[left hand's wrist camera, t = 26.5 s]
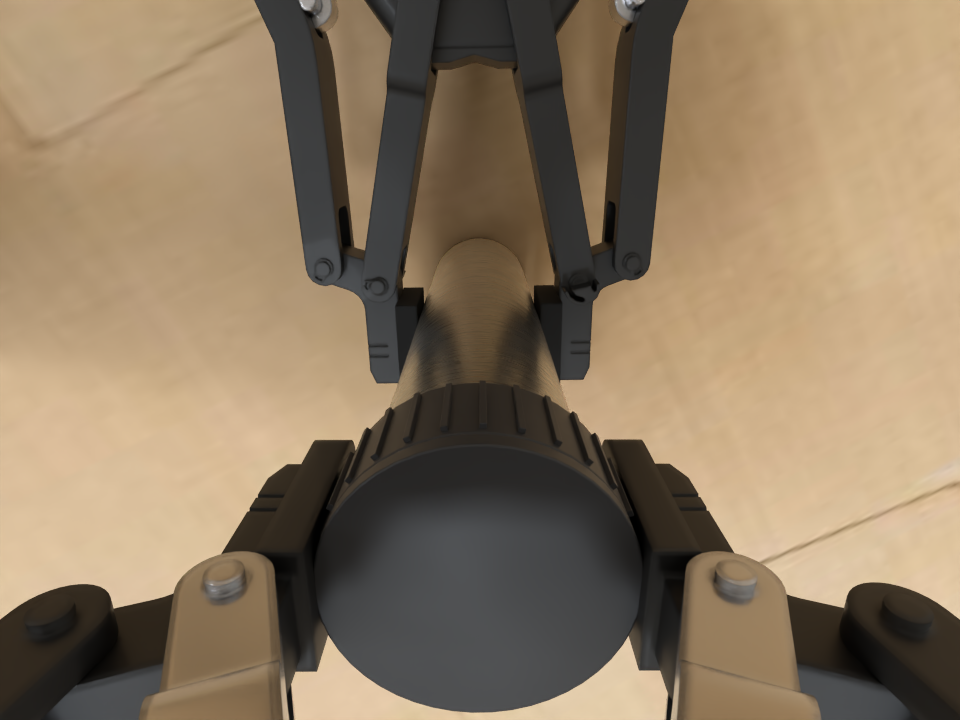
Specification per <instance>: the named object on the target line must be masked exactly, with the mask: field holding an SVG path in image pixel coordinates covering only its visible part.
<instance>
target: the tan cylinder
mask: <svg viewBox="0 0 960 720" xmlns="http://www.w3.org/2000/svg"><path fill="white" fill-rule="evenodd" d="M480 380H482V381H486V383H492V384H502V385H508V386H512V387H513V385H514V384H515V385H519V387H520V388H521V389H524V390H527V391H530V392H533V393H535V394H538V395H541V396H543V397H544V396H545V395H547V396H549V397H551V401H552V402H554V403H556V404H558V405H559V406H561V407H562V408H564V409H565V410H566V411H568V412H569V409H568V406H567V403H566V400H565V397H564V394H563V391H562V388H561V385H560V382H559V379H558V376H557V373H556V370H555V367H554V364H553V361H552V358H551V355H550V351H549V348H548V345H547V342H546V339H545V336H544V333H543V330H542V327H541V324H540V321H539V318H538V315H537V312H536V309H535V306H534V303H533V300H532V297H531V294H530V291H529V288H528V284H527V281H526V278H525V275H524V272H523V269H522V266H521V264H520V262H519V260H518V259H517V257H516V256H515V255H514V254H513V253H512V251H510V250H509V249H508V248H507V247H505V246H504V245H502V244H500V243H498V242H496V241H493V240H490V239H483V238H476V239H469V240H465V241H463V242H460V243H458V244H456V245H455V246H453V247H452V248H450V249H449V250H448V251H447V252H446V253H445V254H444V256H443V257H442V258H441V260H440V261H439V263H438V265H437V268H436V271H435V274H434V277H433V280H432V283H431V286H430V289H429V292H428V295H427V298H426V301H425V304H424V307H423V310H422V313H421V316H420V319H419V322H418V325H417V328H416V331H415V334H414V337H413V340H412V343H411V346H410V349H409V352H408V355H407V358H406V361H405V364H404V367H403V370H402V373H401V376H400V379H399V382H398V385H397V388H396V391H395V394H394V397H393V400H392V403H391V406H390V407H391V408H392V409H394V408H395V407H397V406H398V405H400V404H402V403H404V402H405V401H407V400H409V399H411V398H413V396H414V394H415V393H417V392H420V394H422V393H425V392H427V391H430V390H434V389H437V388H441V387H445V386H446V384H447V383H452V385H457V384H464V383H480ZM569 413H570V412H569Z"/></svg>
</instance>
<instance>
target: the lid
mask: <svg viewBox="0 0 960 720" xmlns="http://www.w3.org/2000/svg"><path fill="white" fill-rule="evenodd" d="M326 509H327V510H329V513H328V515H327V518H326V520H325V523H324V525H323V528H322V530H321V533H320V540H319V543H318V546H317V548H316V554H315V559H314V578H315V588H316V596H317V604H318V611H319V615H320V618H321V621H322V623H323V625H324V627H325V629H326V631H327V633H328V635H329V637H330V638H331V640H332V641H333V643H334V644H335V646H336V647H337V649H338V650H339V651H340V652H341V653H342V655H343V656H344V657H345V658H346V659H347V660H348V661H349V662H350V664H352V665H353V666H354V667H355V668H356V669H357V670H358V671H360V672H361V673H362V674H363V675H364V676H366V677H367V678H369V679H370V680H372V681H373V682H374V683H376V684H377V685H379V686H380V687H382V688H384V689H386V690H388V691H390V692H392V693H394V694H396V695H398V696H400V697H403V698H405V699H408V700H410V701H413V702H416V703H419V704H423V705H426V706H430V707H433V708H439V709H445V710H450V711H460V712H472V713H473V712H498V711H507V710H514V709H518V708H523V707H528V706H532V705H535V704H538V703H541V702H544V701H547V700H550V699H552V698H555V697H557V696H559V695H561V694H564V693H566V692H568V691H570V690H571V689H573V688H575V687H577V686H578V685H580V684H582V683H583V682H585V681H586V680H587V679H589V678H590V677H591V676H593V675H594V674H596V673H597V672H598V671H599V670H600V669H601V668H602V667H603V666H604V665H606V664H607V663H608V662H609V661H610V660H611V659H612V657H613V656H614V655H615V654H616V653H617V651H618V650H619V649H620V648H621V646H622V645H623V644H624V642H625V640H626V639H627V637H628V635H629V634H630V632H631V630H632V628H633V626H634V623H635V621H636V619H637V614H638V607H639V598H640V589H641V581H642V571H643V557H642V552H641V548H640V544H639V541H638V539H637V536H636V534H635V531H634V529H633V526H632V523H631V521H630V518H629V517H632V516H634V514H633V511H632V509H631V506H630V504H629V502H628V499H627V497H626V494H625V492H624V489H623V487H622V484H621V482H620V480H619V477H618V475H617V472H616V470H615V467H614V465H613V463H612V460H611V458H606V455H605V453H604V450H603V448H602V445H601V443H600V440H599V438H598V436H597V435H596V433H594V434H592V435H591V433H590V432H589V431H588V430H587V428H586V427H585V426H584V425H583V424H582V423H581V422H580V421H579V418H578V416H577V414H576V413H575V412H572V413H569V412H568V411H566V410H565V409H564V408H562V407H561V406H559V405H558V404H556V403H554V402H552V401H551V397H549V396H547V395H545V396H544V397H543V396H541V395H538V394H535V393H533V392H530V391H527V390H524V389H521V388H520V387H519V385H515V384H514V385H513V387H512V386H508V385H502V384H492V383H486V381H482V380H480V383H464V384H457V385H452V383H447V384H446V386H445V387H441V388H437V389H434V390H430V391H427V392H425V393H422V394H420V392H417V393H415V394H414V396H413V398H411V399H409V400H407V401H405V402H404V403H402V404H400V405H398V406H397V407H395V408H394V409H392V408H391V407H390V408H388V409H387V410H386V412H385V415H384V416H383V417H382V418H381V419H380V420H379V421H378V422H377V423H376V424H375V425H374V426H373V427H372V428H371V429H369V428H366V429H365V430H364V432H363V435H362V437H361V440H360V442H359V445H358V447H357V449H356V451H355V453H353V452H350V453H349V455H348V457H347V460H346V462H345V464H344V467H343V469H342V472H341V474H340V476H339V479H338V481H337V484H336V486H335V489H334V491H333V493H332V496H331V498H330V501H329V503H328V505H327V508H326Z"/></svg>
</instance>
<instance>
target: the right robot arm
mask: <svg viewBox="0 0 960 720" xmlns="http://www.w3.org/2000/svg"><path fill="white" fill-rule="evenodd" d="M365 2H366V3H367V5H368V6H369V7H370V9H371V10H372V12H373V13H374V14H375V16H376V17H377V19H378V20H379V21H380V23H381V24H382V26H383V27H384V28H385V30H386V31H387V33H388V34H389V35H390V37H391V38H392V41H391V48H390V56H389V63H388V71H387V96H386V104H385V111H384V118H383V125H382V132H381V140H380V147H379V154H378V161H377V169H376V176H375V183H374V190H373V198H372V205H371V212H370V219H369V227H368V234H367V241H366V248H365V251H364V250H361V249H358V248H355V247H354V241H353V232H352V223H351V214H350V204H349V195H348V186H347V177H346V168H345V159H344V150H343V141H342V132H341V123H340V114H339V104H338V95H337V86H336V77H335V68H334V62H333V56H332V51H331V47H330V44H329V40H328V37H327V34H326V32H325V31H327V30H329V29H331V28H332V27H333V26H334V25H335V23H336V21H337V18H338V6H337V0H255V3H256V5H257V7H258V9H259V11H260V13H261V15H262V18H263V20H264V22H265V24H266V26H267V28H268V30H269V32H270V35H271V37H272V39H273V41H274V43H275V50H276V57H277V64H278V71H279V79H280V86H281V93H282V100H283V107H284V114H285V122H286V129H287V136H288V143H289V150H290V157H291V165H292V172H293V179H294V186H295V193H296V200H297V207H298V215H299V222H300V229H301V236H302V243H303V250H304V258H305V265H306V270H307V273H308V276H309V277H310V278H311V280H312V281H313V282H315V283H317V284H318V285H323V286H328V285H335V286H338V287H341V288H344V289H347V290H350V291H352V292H354V293H355V294H356V295H358V296H359V297H360V299H361V300H362V302H363V304H364V307H365V312H366V324H367V336H368V345H369V356H370V357H369V359H370V370H371V373H372V375H373V377H374V379H375V380H376V382H377V383H398V382H399V379H400V376H401V373H402V370H403V367H404V364H405V361H406V358H407V355H408V352H409V349H410V346H411V343H412V340H413V337H414V334H415V331H416V328H417V325H418V322H419V319H420V316H421V313H422V310H423V307H424V289H423V288H404V289H403V283H402V278H403V277H404V274H405V272H406V271H405V270H404V269H405V263H406V257H407V251H408V245H409V239H410V232H411V226H412V220H413V214H414V208H415V202H416V196H417V189H418V183H419V177H420V171H421V165H422V159H423V153H424V146H425V140H426V134H427V128H428V122H429V116H430V110H431V104H432V100H433V96H434V92H435V86H436V80H437V74H438V70H451V69H455V68H458V67H461V66H464V65H467V64H470V63H480V64H483V65H487V66H490V67H494V68H498V69H505V68H512V73H513V78H514V83H515V88H516V92H517V96H518V99H519V103H520V108H521V113H522V118H523V123H524V127H525V132H526V137H527V142H528V147H529V152H530V157H531V162H532V167H533V172H534V177H535V182H536V187H537V192H538V197H539V202H540V207H541V212H542V217H543V222H544V227H545V232H546V237H547V242H548V247H549V252H550V257H551V262H552V267H553V272H554V274H555V282H554V285H540V286H534V306H535V309H536V312H537V315H538V318H539V321H540V324H541V327H542V330H543V333H544V336H545V339H546V342H547V345H548V348H549V351H550V355H551V358H552V361H553V364H554V367H555V370H556V373H557V376H558V379H559V382H560V380H583V379H584V377H585V375H586V373H587V371H588V369H589V364H590V344H591V343H590V340H591V323H592V305H593V301H594V300H595V299H596V298H597V297H598V294H599V292H600V290H601V289H603V288H604V287H606V286H608V285H611V284H614V283H616V282H619V281H622V280H624V279H626V280H636V279H639V278H640V277H642V276H643V275H644V274H645V273H646V272H647V270H648V268H649V265H650V258H651V248H652V239H653V229H654V219H655V209H656V200H657V190H658V180H659V170H660V161H661V151H662V141H663V131H664V122H665V112H666V102H667V92H668V83H669V73H670V63H671V53H672V44H673V35H674V33H675V31H676V28H677V26H678V24H679V21H680V19H681V17H682V14H683V12H684V10H685V7H686V5H687V2H688V0H609V12H610V15H611V17H612V19H613V20H614V21H615V22H616V23H618V24H619V25H621V26H623V27H622V29H621V32H620V37H619V41H618V45H617V51H616V59H615V70H614V83H613V97H612V110H611V124H610V138H609V151H608V165H607V179H606V192H605V206H604V219H603V233H602V243H600V244H597V245H594V246H592V247H590V241H589V236H588V230H587V224H586V219H585V213H584V207H583V202H582V196H581V190H580V185H579V179H578V173H577V168H576V162H575V156H574V151H573V145H572V139H571V134H570V128H569V123H568V117H567V111H566V106H565V100H564V94H563V87H562V70H561V64H560V58H559V52H558V46H557V41H556V35H557V33H558V32H559V30H560V29H561V27H562V26H563V24H564V23H565V21H566V20H567V18H568V17H569V15H570V14H571V12H572V11H573V9H574V8H575V6H576V5H577V3H578V2H579V0H365Z"/></svg>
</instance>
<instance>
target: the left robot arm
mask: <svg viewBox="0 0 960 720" xmlns="http://www.w3.org/2000/svg"><path fill="white" fill-rule="evenodd" d="M602 448H603V450H604V453H605V455H606V458H611V460H612V463H613V465H614V467H615V470H616V472H617V475H618V477H619V480H620V482H621V484H622V487H623V489H624V492H625V494H626V497H627V499H628V502H629V504H630V506H631V509H632V511H633V514H634V516H632V517H629V518H630V521H631V523H632V526H633V529H634V531H635V534H636V536H637V539H638V541H639V544H640V548H641V552H642V557H643V571H642V581H641V589H640V598H639V607H638V614H637V619H636V621H635V623H634V626H633V628H632V630H631V632H630V634H629V638H630V641H631V645H632V648H633V652H634V655H635V658H636V662H637V665H638V668H639V670H660V671H661V674H662V677H663V680H664V683H665V686H666V689H667V692H668V694H667V701H666V710H665V720H960V619H958V618H957V617H956V616H954V615H953V614H952V613H950V612H949V611H948V610H946V609H945V608H944V607H942V606H941V605H939V604H938V603H936V602H935V601H933V600H931V599H929V598H928V597H926V596H923V595H921V594H919V593H917V592H915V591H912V590H909V589H907V588H903V587H900V586H896V585H892V584H886V583H863V584H860V585H857V586H855V587H853V588H852V589H851V590H850V591H849V593H848V595H847V599H846V603H845V606H844V608H841V607H836V606H832V605H827V604H823V603H818V602H814V601H809V600H805V599H800V598H797V597H793V596H790V595H787V594H786V590H785V587H784V585H783V583H782V582H781V580H780V579H779V578H778V577H777V576H776V575H775V574H774V573H773V572H772V571H771V570H770V569H768V568H767V567H766V566H764V565H762V564H761V563H759V562H757V561H755V560H753V559H751V558H748V557H746V556H743V555H739V554H735V553H734V552H733V550H732V548H731V547H730V545H729V544H728V542H727V540H726V539H725V537H724V535H723V534H722V532H721V530H720V529H719V527H718V525H717V524H716V522H715V521H714V519H713V517H712V516H711V514H710V512H709V511H707V510H706V506H705V504H704V503H703V501H702V499H701V498H700V497H698V493H697V491H696V489H695V488H694V486H693V484H692V483H691V481H690V480H689V478H688V477H687V476H685V475H684V474H683V473H681V472H680V471H679V470H677V469H676V468H674V467H673V466H672V465H670V464H655V463H654V461H653V459H652V457H651V455H650V453H649V451H648V449H647V448H646V446H645V444H644V442H643V441H642V440H604V442H603V445H602ZM350 452H353V453H355V446H354V442H353V441H352V440H315V441H314V442H313V444H312V446H311V448H310V449H309V451H308V453H307V455H306V457H305V459H304V460H303V462H302V464H287V465H286V466H284V467H283V468H282V469H280V470H279V471H278V472H276V473H275V474H273V475H272V476H271V477H269V478H268V479H267V481H266V483H265V484H264V486H263V487H262V489H261V491H260V492H259V494H258V498H256V499H255V500H254V502H253V504H252V505H251V507H250V511H249V512H247V513H246V515H245V517H244V518H243V520H242V521H241V523H240V525H239V526H238V528H237V529H236V531H235V533H234V534H233V536H232V538H231V539H230V541H229V542H228V544H227V546H226V547H225V549H224V551H223V552H222V554H221V555H217V556H214V557H212V558H209V559H207V560H205V561H203V562H201V563H199V564H198V565H196V566H194V567H193V568H192V569H190V570H189V571H188V572H187V573H186V574H185V575H184V576H183V577H182V578H181V579H180V580H179V582H178V583H177V585H176V587H175V590H174V594H171V595H169V596H166V597H163V598H159V599H155V600H151V601H146V602H142V603H137V604H133V605H128V606H124V607H119V608H115V609H113V605H112V601H111V598H110V595H109V593H108V592H107V591H106V590H105V589H103V588H101V587H99V586H95V585H89V584H78V585H70V586H65V587H60V588H57V589H54V590H50V591H48V592H45V593H43V594H40V595H38V596H36V597H34V598H32V599H30V600H28V601H26V602H24V603H23V604H21V605H19V606H18V607H17V608H15V609H14V610H12V611H11V612H10V613H8V614H7V615H6V616H4V617H3V618H2V619H0V720H295V710H294V701H293V694H292V688H291V683H292V680H293V677H294V674H295V672H311V671H317V669H318V666H319V663H320V660H321V656H322V653H323V650H324V646H325V643H326V640H327V637H328V633H327V631H326V629H325V627H324V625H323V623H322V621H321V618H320V615H319V611H318V604H317V596H316V588H315V578H314V559H315V554H316V548H317V546H318V543H319V540H320V533H321V530H322V528H323V525H324V523H325V520H326V518H327V515H328V513H329V510H327V509H326V508H327V505H328V503H329V501H330V498H331V496H332V493H333V491H334V489H335V486H336V484H337V481H338V479H339V476H340V474H341V472H342V469H343V467H344V464H345V462H346V460H347V457H348V455H349V453H350Z"/></svg>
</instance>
